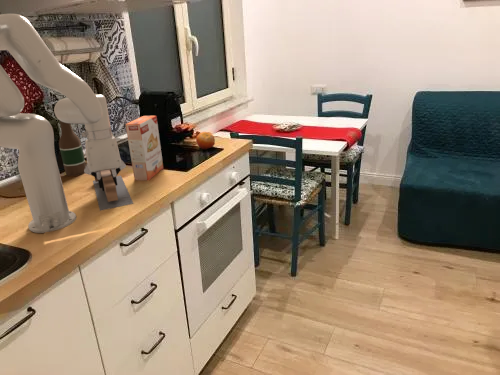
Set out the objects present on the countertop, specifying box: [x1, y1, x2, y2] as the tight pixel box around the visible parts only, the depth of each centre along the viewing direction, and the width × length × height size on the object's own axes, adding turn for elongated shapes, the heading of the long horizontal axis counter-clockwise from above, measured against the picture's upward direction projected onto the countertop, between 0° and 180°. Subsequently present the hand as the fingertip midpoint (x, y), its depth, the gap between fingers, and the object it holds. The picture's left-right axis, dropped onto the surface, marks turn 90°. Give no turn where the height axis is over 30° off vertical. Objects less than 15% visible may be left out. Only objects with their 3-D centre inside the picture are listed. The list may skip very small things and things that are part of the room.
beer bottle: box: [58, 120, 87, 177], centre depth 156 cm, size 8×8×24 cm
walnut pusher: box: [94, 169, 118, 202], centre depth 137 cm, size 25×7×5 cm, turn 24°
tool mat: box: [92, 175, 135, 212], centre depth 139 cm, size 30×10×1 cm, turn 24°
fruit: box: [195, 131, 216, 150], centre depth 182 cm, size 8×8×8 cm
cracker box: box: [125, 115, 164, 181], centre depth 150 cm, size 14×6×21 cm, turn 168°
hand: (108, 188), depth 138 cm, fingers closed on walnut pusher, 3 cm apart
